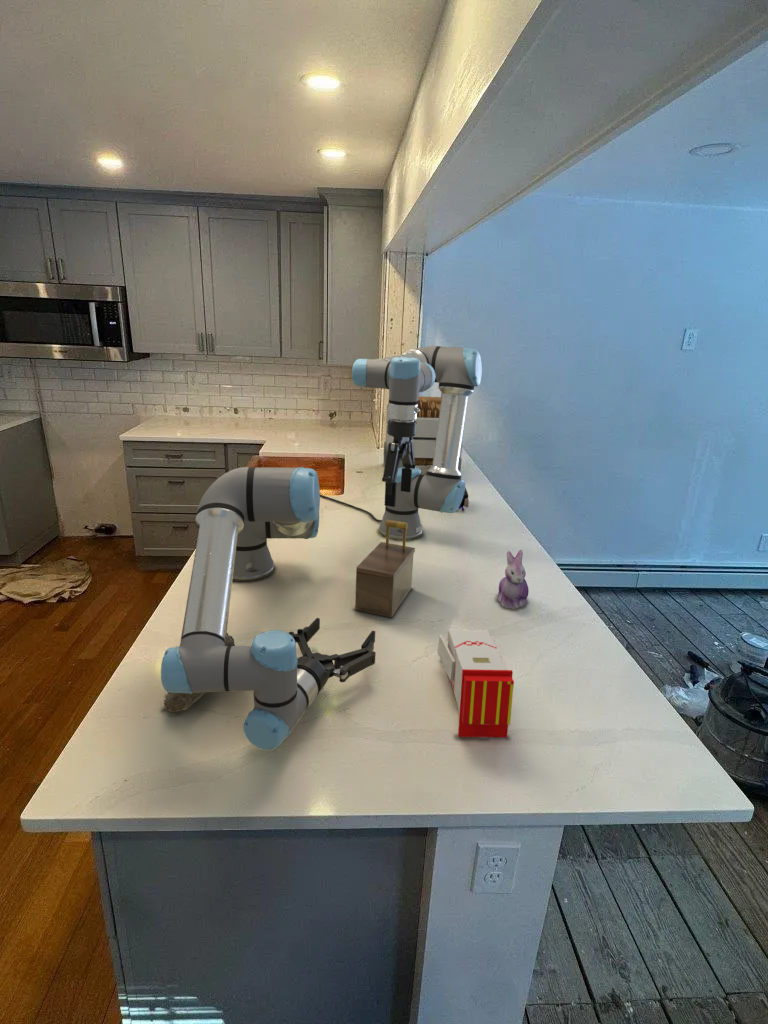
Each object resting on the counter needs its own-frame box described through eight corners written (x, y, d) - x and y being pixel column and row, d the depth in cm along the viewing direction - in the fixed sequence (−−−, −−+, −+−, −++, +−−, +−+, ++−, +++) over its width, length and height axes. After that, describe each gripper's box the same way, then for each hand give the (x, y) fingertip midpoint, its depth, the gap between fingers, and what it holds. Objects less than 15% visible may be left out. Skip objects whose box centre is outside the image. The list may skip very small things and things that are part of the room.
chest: (378, 582, 164) (379, 547, 160) (411, 588, 161) (413, 553, 157) (355, 609, 149) (356, 571, 145) (391, 617, 146) (393, 579, 142)
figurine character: (468, 516, 224) (463, 500, 237) (471, 498, 221) (465, 483, 234) (452, 515, 224) (447, 499, 237) (453, 498, 220) (449, 482, 234)
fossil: (188, 633, 127) (235, 602, 122) (218, 661, 130) (265, 632, 125) (141, 705, 107) (195, 672, 102) (177, 737, 110) (232, 706, 105)
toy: (488, 613, 130) (523, 677, 101) (484, 667, 133) (517, 744, 104) (435, 612, 130) (455, 676, 101) (432, 666, 133) (451, 743, 103)
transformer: (382, 463, 289) (386, 382, 275) (445, 464, 293) (451, 384, 279) (390, 482, 257) (394, 392, 243) (460, 483, 261) (468, 394, 247)
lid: (380, 545, 161) (382, 516, 158) (414, 551, 158) (416, 521, 155) (356, 571, 145) (357, 539, 142) (393, 579, 142) (395, 545, 139)
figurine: (511, 613, 150) (518, 561, 145) (487, 596, 158) (493, 547, 153) (538, 606, 154) (546, 556, 149) (513, 590, 163) (520, 542, 157)
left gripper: (246, 684, 114) (296, 632, 133) (361, 716, 107) (396, 656, 126) (245, 652, 112) (296, 603, 131) (362, 683, 104) (398, 626, 123)
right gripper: (401, 430, 133) (396, 514, 140) (429, 413, 155) (424, 487, 163) (371, 426, 135) (368, 510, 143) (403, 411, 158) (399, 484, 165)
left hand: (345, 629), depth 128 cm, fingers open, 13 cm apart
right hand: (398, 498), depth 153 cm, fingers open, 13 cm apart
